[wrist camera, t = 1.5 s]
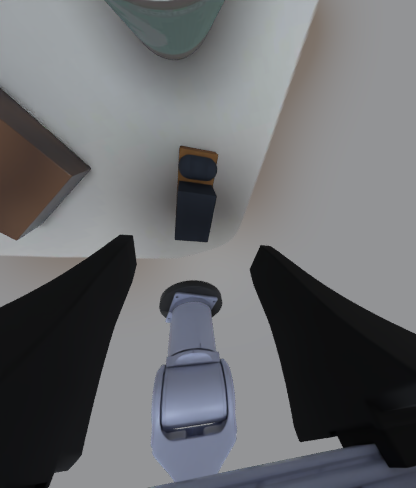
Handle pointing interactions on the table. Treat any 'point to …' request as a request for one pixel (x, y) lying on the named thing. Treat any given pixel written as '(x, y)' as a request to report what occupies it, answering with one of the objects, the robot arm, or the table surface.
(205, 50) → the table surface
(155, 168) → the table surface
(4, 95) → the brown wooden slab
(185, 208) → the cube on wooden base
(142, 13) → the coffee cup
